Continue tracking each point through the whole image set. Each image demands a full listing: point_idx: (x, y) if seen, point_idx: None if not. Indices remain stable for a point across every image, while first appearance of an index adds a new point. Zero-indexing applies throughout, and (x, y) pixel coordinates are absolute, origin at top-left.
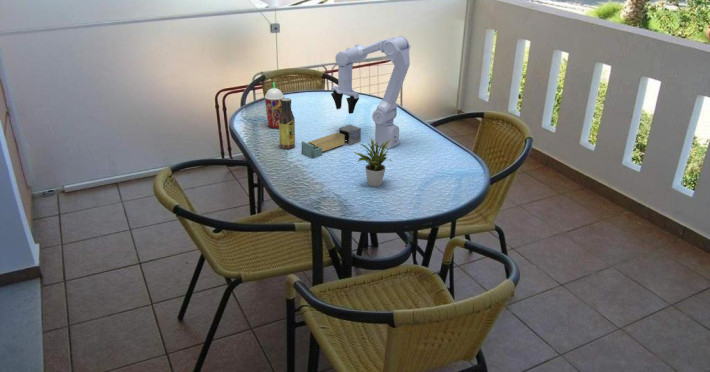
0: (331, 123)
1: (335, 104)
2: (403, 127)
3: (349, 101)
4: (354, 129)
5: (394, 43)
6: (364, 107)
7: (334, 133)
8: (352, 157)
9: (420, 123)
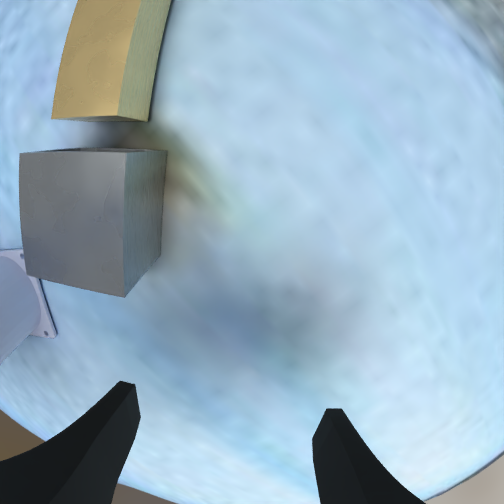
0: (395, 356)
1: (363, 445)
2: None
3: (1, 472)
4: (31, 226)
5: None
6: None
7: (121, 74)
8: (4, 60)
9: None
